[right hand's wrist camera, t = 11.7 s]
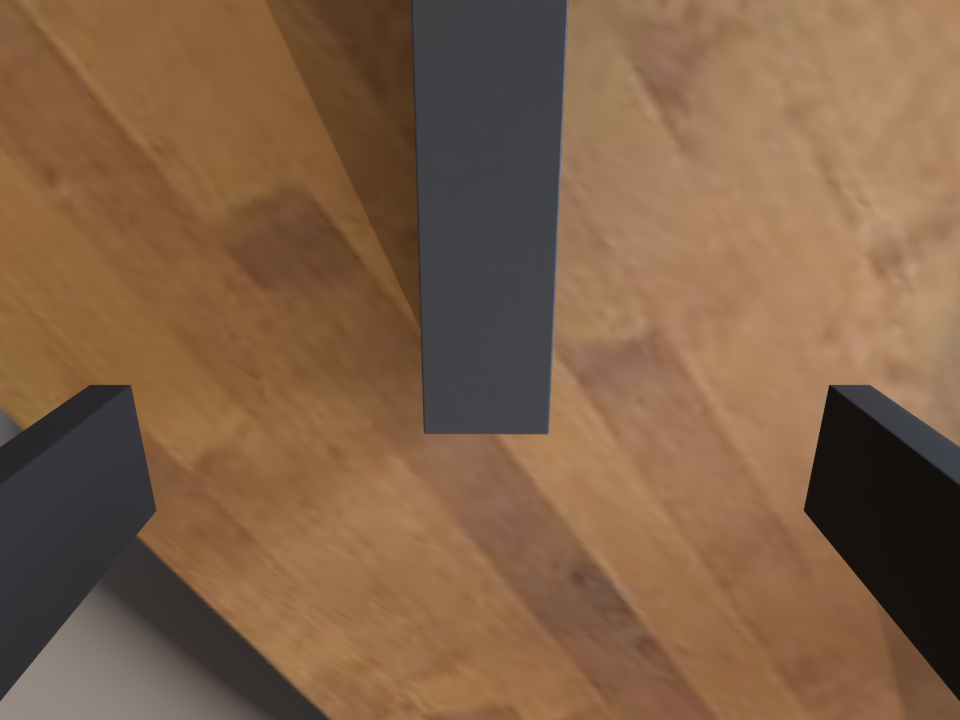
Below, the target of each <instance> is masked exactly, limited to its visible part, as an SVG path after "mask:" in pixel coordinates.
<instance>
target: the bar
mask: <svg viewBox="0 0 960 720" xmlns="http://www.w3.org/2000/svg"><path fill="white" fill-rule="evenodd" d="M411 10H412V44H413V78H414V112H415V146H416V180H417V214H418V248H419V282H420V316H421V350H422V384H423V418H424V433H425V434H548V433H549V421H550V399H551V377H552V355H553V332H554V310H555V288H556V266H557V244H558V222H559V199H560V177H561V155H562V133H563V111H564V89H565V66H566V44H567V22H568V0H411Z"/></svg>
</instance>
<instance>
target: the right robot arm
mask: <svg viewBox="0 0 960 720" xmlns="http://www.w3.org/2000/svg"><path fill="white" fill-rule="evenodd" d="M155 512H156V507H155V502H154V497H153V492H152V487H151V482H150V477H149V472H148V468H147V463H146V458H145V453H144V448H143V443H142V438H141V433H140V428H139V423H138V418H137V413H136V408H135V404H134V399H133V394H132V389H131V385H89V386H88V387H87V388H85V389H84V390H82V391H81V392H79V393H78V394H76V395H75V396H74V397H72V398H71V399H69V400H68V401H66V402H65V403H63V404H62V405H61V406H59V407H58V408H56V409H55V410H53V411H52V412H50V413H49V414H48V415H46V416H45V417H43V418H42V419H40V420H39V421H37V422H36V423H35V424H33V425H32V426H30V427H29V428H27V429H26V430H24V431H23V432H22V433H20V434H19V435H17V436H16V437H14V438H13V439H11V440H10V441H9V442H7V443H6V444H4V445H3V446H1V447H0V701H1V700H2V698H3V697H4V696H5V695H6V694H7V692H8V691H9V690H10V689H11V687H12V686H13V685H14V684H15V683H16V681H17V680H18V679H19V678H20V676H21V675H22V674H23V673H24V672H25V670H26V669H27V668H28V667H29V665H30V664H31V663H32V662H33V661H34V659H35V658H36V657H37V656H38V654H39V653H40V652H41V651H42V650H43V648H44V647H45V646H46V645H47V643H48V642H49V641H50V640H51V639H52V637H53V636H54V635H55V634H56V633H57V631H58V630H59V629H60V628H61V626H62V625H63V624H64V623H65V621H66V620H67V619H68V618H69V617H70V615H71V614H72V613H73V612H74V610H75V609H76V608H77V607H78V606H79V604H80V603H81V602H82V601H83V600H84V598H85V597H86V596H87V595H88V593H89V592H90V591H91V590H92V589H93V587H94V586H95V585H96V584H97V582H98V581H99V580H100V579H101V578H102V576H103V575H104V574H105V573H106V571H107V570H108V569H109V568H110V567H111V565H112V564H113V563H114V562H115V560H116V559H117V558H118V557H119V556H120V554H121V553H122V552H123V551H124V549H125V548H126V547H127V546H128V545H129V543H130V542H131V541H132V540H133V538H134V537H135V536H136V535H137V534H138V532H139V531H140V530H141V529H142V527H143V526H144V525H145V524H146V523H147V521H148V520H149V519H150V518H151V516H152V515H153V514H154V513H155ZM804 512H805V513H806V514H807V515H808V516H809V518H810V519H811V520H812V521H813V523H814V524H815V525H816V526H817V527H818V529H819V530H820V531H821V532H822V534H823V535H824V536H825V537H826V538H827V540H828V541H829V542H830V543H831V545H832V546H833V547H834V548H835V549H836V551H837V552H838V553H839V554H840V556H841V557H842V558H843V559H844V560H845V562H846V563H847V564H848V565H849V567H850V568H851V569H852V570H853V571H854V573H855V574H856V575H857V576H858V578H859V579H860V580H861V581H862V582H863V584H864V585H865V586H866V587H867V589H868V590H869V591H870V592H871V593H872V595H873V596H874V597H875V598H876V600H877V601H878V602H879V603H880V604H881V606H882V607H883V608H884V609H885V611H886V612H887V613H888V614H889V615H890V617H891V618H892V619H893V620H894V622H895V623H896V624H897V625H898V626H899V628H900V629H901V630H902V631H903V633H904V634H905V635H906V636H907V637H908V639H909V640H910V641H911V642H912V643H913V645H914V646H915V647H916V648H917V650H918V651H919V652H920V653H921V654H922V656H923V657H924V658H925V659H926V661H927V662H928V663H929V664H930V665H931V667H932V668H933V669H934V670H935V672H936V673H937V674H938V675H939V676H940V678H941V679H942V680H943V681H944V683H945V684H946V685H947V686H948V687H949V689H950V690H951V691H952V692H953V694H954V695H955V696H956V697H957V698H958V700H959V701H960V447H959V446H957V445H956V444H954V443H953V442H951V441H950V440H949V439H947V438H946V437H944V436H943V435H941V434H940V433H938V432H937V431H936V430H934V429H933V428H931V427H930V426H928V425H927V424H925V423H924V422H923V421H921V420H920V419H918V418H917V417H915V416H914V415H912V414H911V413H910V412H908V411H907V410H905V409H904V408H902V407H901V406H899V405H898V404H897V403H895V402H894V401H892V400H891V399H889V398H888V397H886V396H885V395H884V394H882V393H881V392H879V391H878V390H876V389H875V388H873V387H872V386H871V385H829V389H828V394H827V399H826V404H825V408H824V413H823V418H822V423H821V428H820V433H819V438H818V443H817V448H816V453H815V458H814V463H813V468H812V472H811V477H810V482H809V487H808V492H807V497H806V502H805V507H804Z"/></svg>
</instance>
